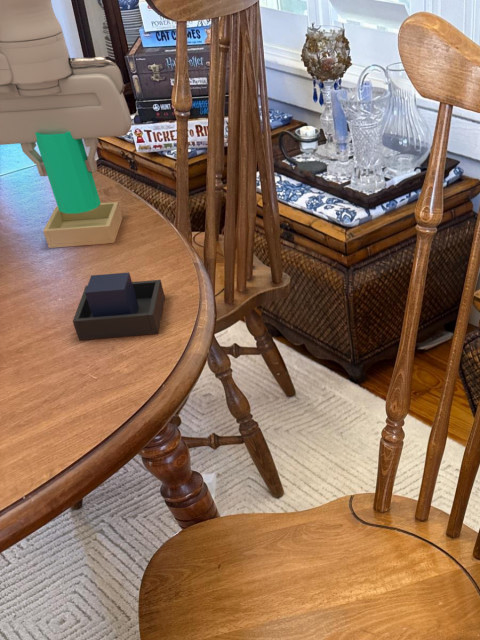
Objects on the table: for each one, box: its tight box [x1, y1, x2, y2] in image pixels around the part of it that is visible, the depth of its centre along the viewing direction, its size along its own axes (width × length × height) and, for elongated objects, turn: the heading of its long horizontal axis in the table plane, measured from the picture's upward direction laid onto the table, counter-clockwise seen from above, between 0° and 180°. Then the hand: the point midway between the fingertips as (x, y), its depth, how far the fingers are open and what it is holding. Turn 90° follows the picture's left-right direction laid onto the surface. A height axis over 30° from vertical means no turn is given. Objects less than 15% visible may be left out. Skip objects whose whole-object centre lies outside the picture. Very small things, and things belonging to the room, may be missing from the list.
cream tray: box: [42, 201, 123, 249], centre depth 114 cm, size 9×9×2 cm
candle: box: [35, 131, 102, 214], centre depth 108 cm, size 6×6×12 cm
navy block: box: [85, 271, 139, 317], centre depth 93 cm, size 4×4×4 cm
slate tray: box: [72, 279, 166, 341], centre depth 95 cm, size 9×9×2 cm
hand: (69, 173), depth 110 cm, fingers closed on candle, 5 cm apart
